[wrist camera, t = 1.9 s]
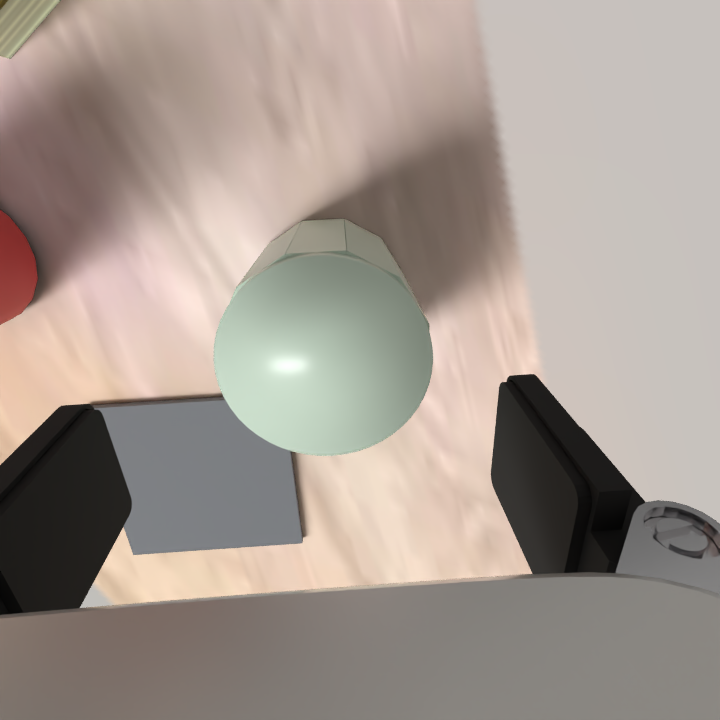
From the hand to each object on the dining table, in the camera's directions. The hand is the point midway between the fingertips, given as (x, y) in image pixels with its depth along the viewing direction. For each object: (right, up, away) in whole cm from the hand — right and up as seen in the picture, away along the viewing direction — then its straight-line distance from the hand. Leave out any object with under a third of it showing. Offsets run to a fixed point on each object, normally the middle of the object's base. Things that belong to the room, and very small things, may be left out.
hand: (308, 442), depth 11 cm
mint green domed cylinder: (0, +5, +13) cm, 14 cm away
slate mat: (-8, -5, +17) cm, 20 cm away
